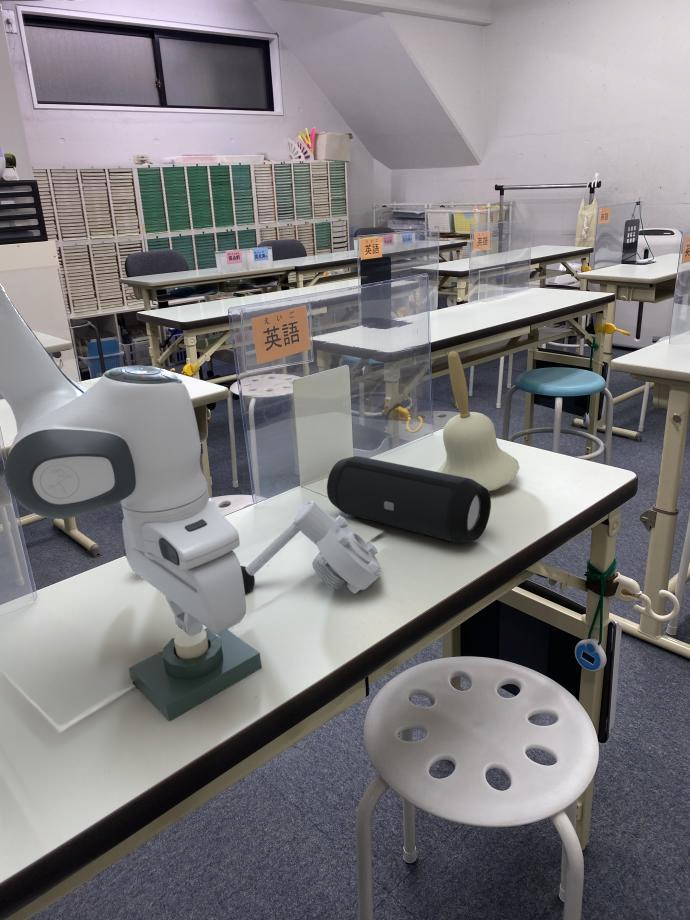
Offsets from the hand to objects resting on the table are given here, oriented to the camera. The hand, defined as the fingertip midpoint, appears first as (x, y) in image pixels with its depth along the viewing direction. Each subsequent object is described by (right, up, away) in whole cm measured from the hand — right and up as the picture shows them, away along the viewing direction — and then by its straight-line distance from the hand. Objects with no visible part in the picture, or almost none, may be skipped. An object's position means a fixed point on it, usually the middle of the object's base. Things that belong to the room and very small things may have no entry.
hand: (190, 629), depth 77 cm
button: (0, -3, +1) cm, 3 cm away
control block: (0, -6, +2) cm, 6 cm away
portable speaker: (+27, +8, +34) cm, 44 cm away
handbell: (+41, +15, +48) cm, 65 cm away
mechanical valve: (+12, +1, +18) cm, 22 cm away
